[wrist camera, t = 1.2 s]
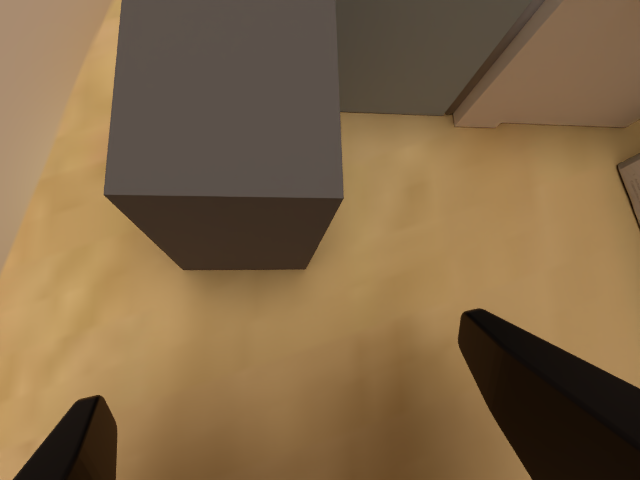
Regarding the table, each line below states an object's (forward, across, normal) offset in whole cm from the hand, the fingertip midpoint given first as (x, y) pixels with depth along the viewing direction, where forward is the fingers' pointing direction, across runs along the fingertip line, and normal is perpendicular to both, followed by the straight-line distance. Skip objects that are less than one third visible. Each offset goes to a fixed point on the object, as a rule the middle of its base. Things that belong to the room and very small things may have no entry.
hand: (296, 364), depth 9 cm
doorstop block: (+14, 0, +3) cm, 15 cm away
